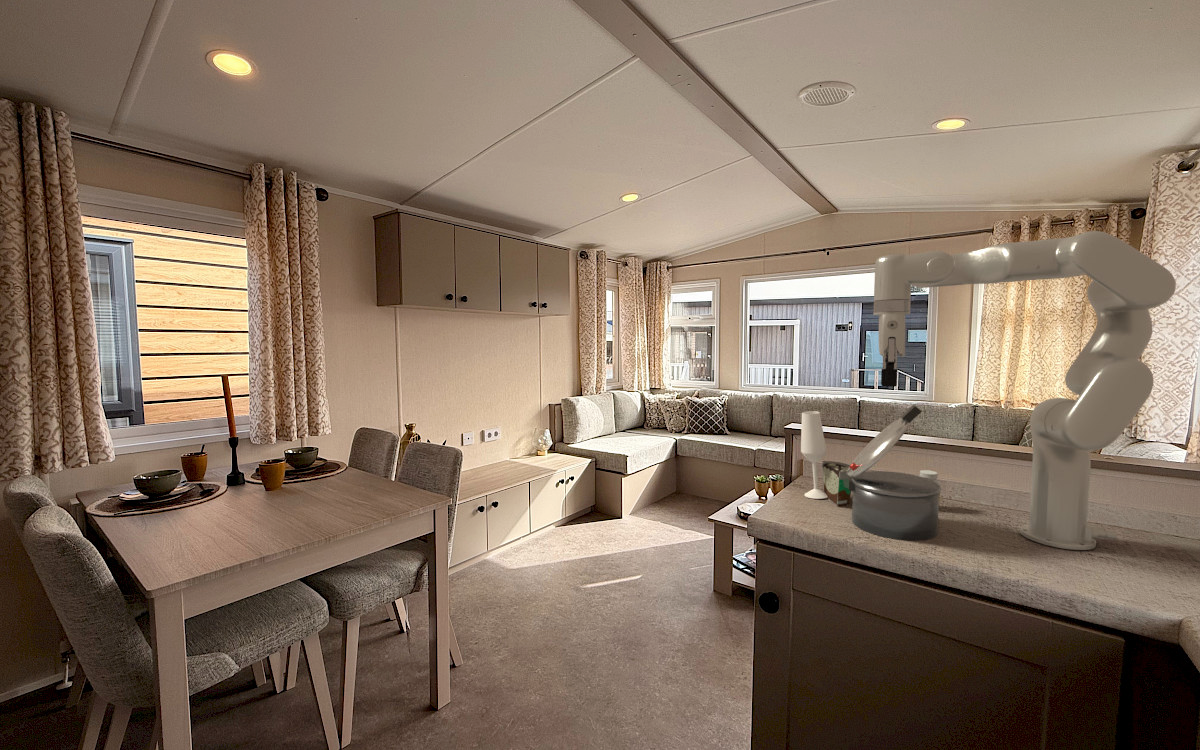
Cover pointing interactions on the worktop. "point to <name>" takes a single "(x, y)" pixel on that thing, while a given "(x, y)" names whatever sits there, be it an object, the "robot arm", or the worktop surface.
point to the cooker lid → (882, 443)
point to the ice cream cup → (836, 482)
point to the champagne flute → (813, 447)
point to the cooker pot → (895, 505)
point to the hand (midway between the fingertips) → (888, 385)
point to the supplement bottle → (930, 476)
